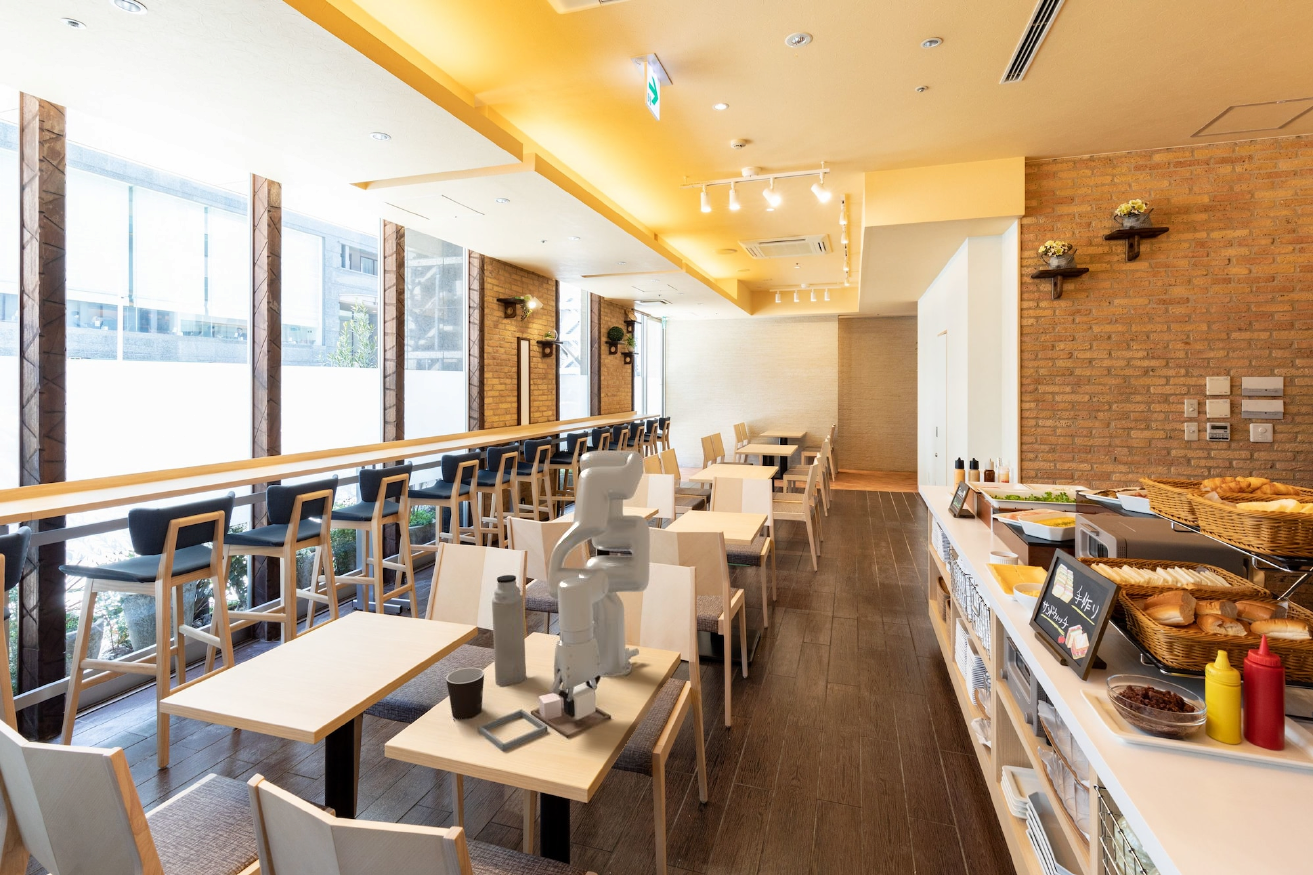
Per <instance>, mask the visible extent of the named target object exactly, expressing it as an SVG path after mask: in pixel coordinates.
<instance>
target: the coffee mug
mask: <svg viewBox="0 0 1313 875" xmlns="http://www.w3.org/2000/svg"><path fill="white" fill-rule="evenodd" d="M484 679H485V671H484V670H483V669H482V668H479V667H464V668H459V669H456V670H453V671H451V672H450V673H448V674H447V675H446V677H445V680H446V685H447V691H448V698H449V703H450V709H451V715H452V717H453V722H456V720H463V721H464V720H470V719H473V718H476V717H477V716H479V715H480V714H481V713H482V710H483V708H482V707H483V696H484V681H485V680H484ZM455 719H456V720H455Z"/></svg>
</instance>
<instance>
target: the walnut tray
mask: <svg viewBox="0 0 1313 875" xmlns="http://www.w3.org/2000/svg"><path fill="white" fill-rule="evenodd" d="M530 715H531V716H533V717H534V718H536V719H537V720H539V721H540V722H542V723H543V724H545V725H546V726H547V727H548V728H551V729H552V730H553V731H555V732H557V733H559V734H560V735H561V736H562V737H564V738H566V739H570V738H572V737H574V736H577V735H579V734H581V733H583V732H585V731H587V730H589V729H591V728H594V727H596V726H598V725H600V724H603V723H605V722H606V721H609V720H611V719H612V716H611V714H609V713H607V712H606V711H604V710H602V709H600V708H599V707H598V706H595V712H593V713H591V714H589V715H586V716H584V717H582V718H580V719H578V720H577V719H576V718H574V717H573V718H572V717H570V716H569V715H567V714H566V713H565V712H564V709H563V708H561V716H560V717H556V718H552V719H549V720H547V719H545V718H544V717H542V716H541V715H540V713H539V707H538V708H535V709H533V710H530Z"/></svg>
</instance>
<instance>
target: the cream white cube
mask: <svg viewBox="0 0 1313 875" xmlns="http://www.w3.org/2000/svg"><path fill="white" fill-rule="evenodd" d="M567 692H568V689H567ZM572 699H573V700H574V710H575V716H574V718H576V719H577V720H578V719H580V718H582V717H584V716H586V715H589V714H591V713H593V712H595V707H596V690H593V689H591V688H590V687H588V686H586V684H584V683H582V684H580V685H577V686H575V687H574V690H573V696H572Z"/></svg>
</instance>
